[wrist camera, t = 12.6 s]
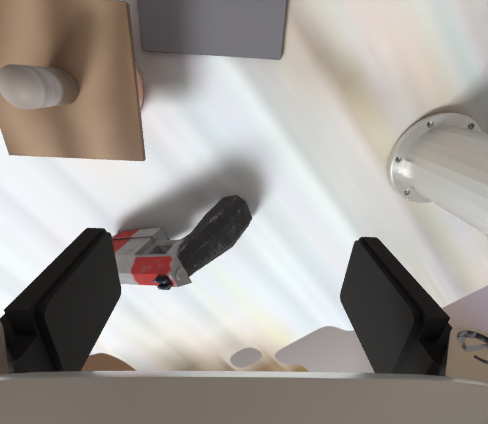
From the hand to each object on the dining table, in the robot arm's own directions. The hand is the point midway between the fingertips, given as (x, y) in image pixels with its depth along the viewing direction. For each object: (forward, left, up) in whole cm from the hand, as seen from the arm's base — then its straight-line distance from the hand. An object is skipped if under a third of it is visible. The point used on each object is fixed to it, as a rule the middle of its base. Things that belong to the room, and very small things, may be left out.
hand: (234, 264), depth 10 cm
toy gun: (+9, +15, -29) cm, 34 cm away
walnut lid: (+17, -5, -21) cm, 28 cm away
